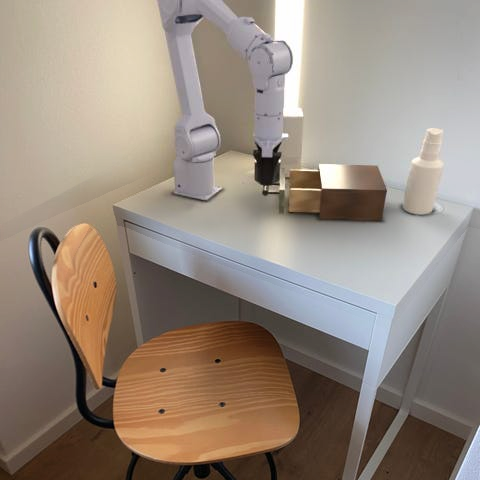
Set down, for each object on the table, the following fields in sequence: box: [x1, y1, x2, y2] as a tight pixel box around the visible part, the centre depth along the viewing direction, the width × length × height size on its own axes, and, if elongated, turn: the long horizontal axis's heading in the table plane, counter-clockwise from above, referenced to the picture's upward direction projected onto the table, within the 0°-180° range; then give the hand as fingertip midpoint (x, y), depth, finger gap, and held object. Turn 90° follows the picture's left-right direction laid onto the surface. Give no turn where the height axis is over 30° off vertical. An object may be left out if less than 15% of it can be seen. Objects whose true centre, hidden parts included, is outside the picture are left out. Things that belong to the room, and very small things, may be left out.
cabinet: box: [317, 163, 388, 222], centre depth 117 cm, size 14×14×7 cm
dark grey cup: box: [253, 159, 280, 187], centre depth 106 cm, size 5×5×5 cm
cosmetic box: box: [278, 107, 305, 178], centre depth 132 cm, size 8×7×16 cm
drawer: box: [261, 168, 322, 215], centre depth 118 cm, size 17×13×6 cm
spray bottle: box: [402, 127, 445, 216], centre depth 113 cm, size 7×7×18 cm
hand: (266, 179), depth 107 cm, fingers closed on dark grey cup, 5 cm apart
